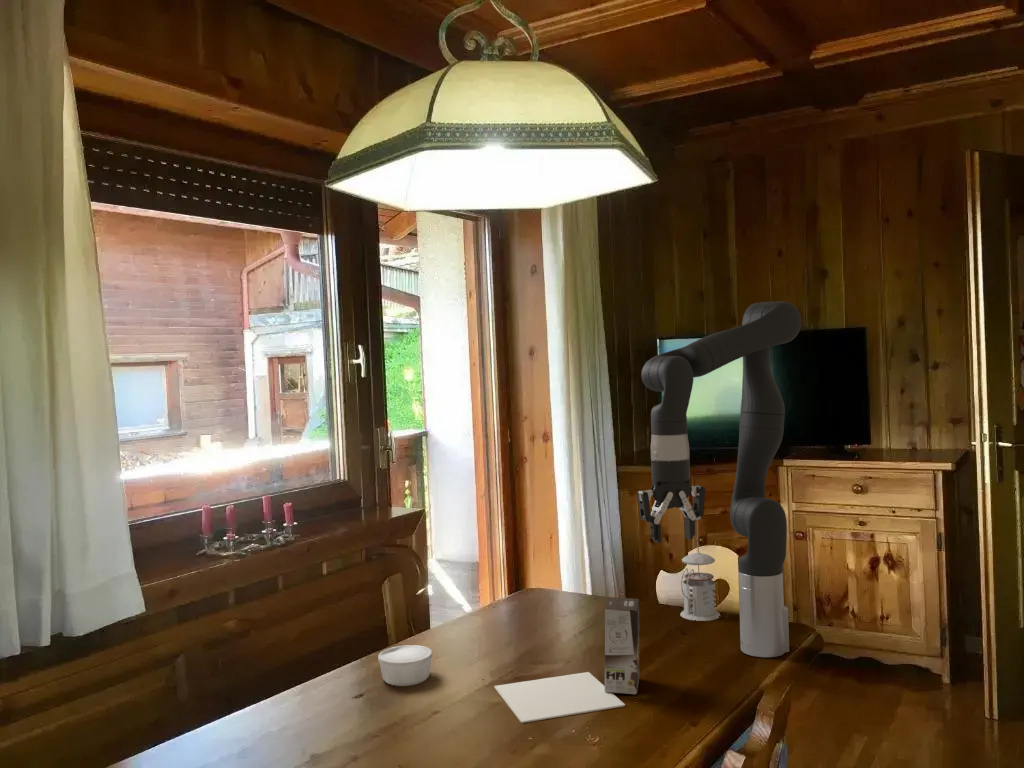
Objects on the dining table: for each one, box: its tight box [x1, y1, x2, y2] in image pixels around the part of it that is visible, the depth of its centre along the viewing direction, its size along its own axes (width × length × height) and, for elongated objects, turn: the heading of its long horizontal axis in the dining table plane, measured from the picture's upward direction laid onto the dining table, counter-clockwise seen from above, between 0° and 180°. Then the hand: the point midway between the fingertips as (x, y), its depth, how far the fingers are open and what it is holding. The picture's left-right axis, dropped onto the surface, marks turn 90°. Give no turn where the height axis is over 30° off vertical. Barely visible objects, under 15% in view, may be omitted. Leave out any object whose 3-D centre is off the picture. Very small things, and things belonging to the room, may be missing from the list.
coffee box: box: [604, 597, 640, 695], centre depth 167 cm, size 9×6×16 cm
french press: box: [680, 516, 721, 622], centre depth 211 cm, size 10×12×25 cm
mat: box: [493, 671, 626, 724], centre depth 164 cm, size 20×18×1 cm
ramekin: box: [377, 644, 433, 687], centre depth 176 cm, size 11×11×5 cm
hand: (673, 540), depth 170 cm, fingers open, 6 cm apart
